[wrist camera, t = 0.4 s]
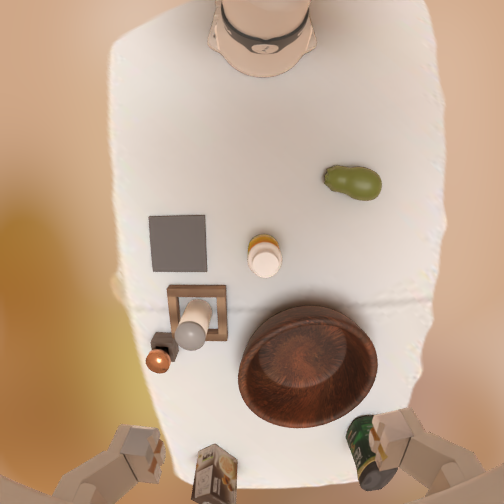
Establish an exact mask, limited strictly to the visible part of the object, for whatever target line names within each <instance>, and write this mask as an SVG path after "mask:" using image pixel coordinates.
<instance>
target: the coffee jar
mask: <svg viewBox="0 0 504 504" xmlns="http://www.w3.org/2000/svg"><path fill="white" fill-rule="evenodd" d="M373 417H374V416H364V417H360V418H358V419H356V420H354V421H353V423H352V424H351V426H350V428H349V430H348V432H347V436H346V439H347V442H348V445H349V448H350V450H351V453H352V456H353V459H354V462H355V465H356V468H357V474H358V480H359V483H360V486H361V488H362V489H364V490H366V491H372V490H379V489H382V488H383V487H384V486H385V485H386V484H388V482H389V481H390V480H391V479H392V478H393V476H394V475H395V473H396V472H397V470H398V467H396V468H392V469H388V470H383V471H379V469H378V466H377V464H376V461H375V457H376V453H374V452H372V450H371V447H370V443H369V433H370V429H371V428H372V427H373V423H372V420H373Z"/></svg>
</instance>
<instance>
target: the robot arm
mask: <svg viewBox="0 0 504 504" xmlns="http://www.w3.org/2000/svg"><path fill="white" fill-rule="evenodd" d="M310 2H311V0H215V5H216V6H217V8H216V12H215V14H214V19H213V22H212V26H211V29H210V33H209V37H208V46H209V47H210V48H211V49H213V50H215V51H217V52H219V53H221V54H222V55H223V56H224V58H225V59H226V60H227V62H228V63H229V64H230V65H231V66H232V67H234V68H235V69H236V70H238V71H240V72H242V73H244V74H247V75H250V76H255V77H272V76H276V75H279V74H282V73H284V72H286V71H288V70H289V69H291V68H292V67H293V66H294V65H295V64H296V63H297V62H298V61H299V59H300V58H301V57H302V56H303V55H304V54H305V53H307V52H309V51H311V50H313V49H314V48H315V47H316V44H317V41H316V37H315V34H314V30H313V27H312V24H311V21H310V17H309V4H310ZM215 35H216V38H214V36H215ZM372 423H373V427H372V428H371V429H370V433H369V443H370V447H371V450H372V452H374V453H376V457H375V461H376V464H377V466H378V469H379V471H383V470H388V469H392V468H396V467H400V468H401V469H402V470H403V471H405V472H406V473H408V474H409V475H410V476H412V477H413V478H414V479H416V480H417V481H418V482H420V483H421V484H423V485H424V486H425V487H427V488H428V489H429V490H428V492H427V494H426V495H425V497H424V498H421V499H418V500H415V501H412V502H408V503H405V504H504V463H502V464H500V465H498V466H496V467H495V468H493V469H491V470H489V471H487V472H486V471H485V469H484V468H483V466H482V465H481V463H480V461H479V460H478V458H477V457H476V455H475V454H474V452H471V451H469V450H467V449H465V448H463V447H461V446H458V445H456V444H454V443H452V442H450V441H448V440H446V439H443V438H441V437H439V436H437V435H435V434H433V433H431V432H428V433H426V431H425V429H424V428H423V426H422V424H421V422H420V421H419V419H418V418H417V416H416V414H415V413H414V411H413V409H412V408H411V407H408V408H403V409H399V410H395V411H391V412H386V413H381V414H377V415H374V417H373V420H372ZM159 438H160V432H159V430H158V429H157V428H152V427H151V428H150V427H143V426H134V425H125V424H121V425H120V426H119V427H118V429H117V431H116V433H115V435H114V438H113V440H112V442H111V444H110V446H109V448H108V450H107V451H103V452H101V453H100V454H98V455H96V456H95V457H93V458H92V459H90V460H88V461H86V462H85V463H83V464H82V465H80V466H78V467H77V468H75V469H73V470H71V471H70V472H68V473H66V474H64V475H63V476H62V478H61V480H60V481H59V483H58V485H57V487H56V489H55V491H54V493H53V495H52V496H50V495H47V494H45V493H42V492H40V491H37V490H34V489H32V488H30V487H27V486H25V485H22V484H20V483H18V482H15V481H13V480H11V479H9V478H6V477H5V476H2V475H0V504H115V503H116V502H117V501H118V500H119V499H120V498H122V497H123V496H124V495H125V494H126V493H127V492H128V491H129V490H131V489H132V488H133V487H134V486H135V485H136V484H137V483H138V482H145V483H155V484H158V483H159V479H160V475H161V469H160V466H161V465H162V464H164V461H165V446H164V443H163V441H161V440H160V439H159Z"/></svg>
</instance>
